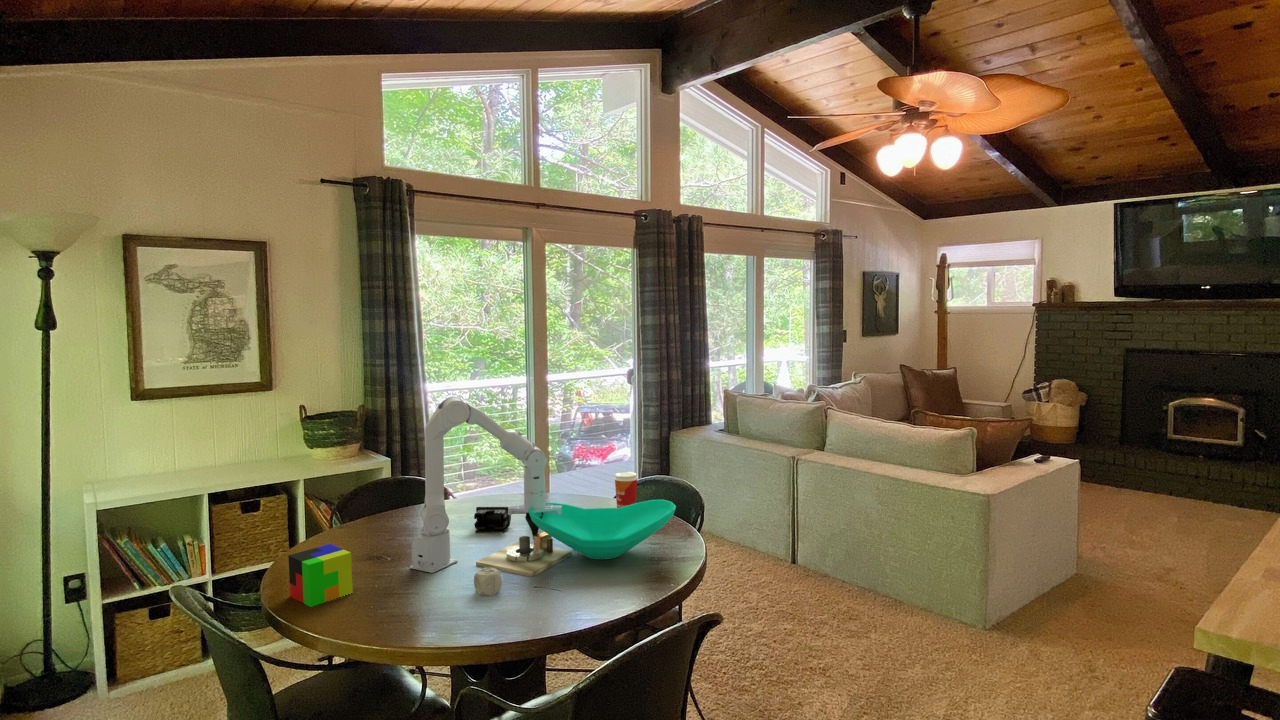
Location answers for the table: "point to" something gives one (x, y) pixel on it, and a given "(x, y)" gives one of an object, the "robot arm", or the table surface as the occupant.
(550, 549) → the dowel
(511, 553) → the flange
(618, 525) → the table top decor
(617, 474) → the paper cup
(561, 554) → the board
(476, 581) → the die
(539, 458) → the robot arm
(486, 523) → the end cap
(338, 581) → the puzzle toy
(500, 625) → the table surface
